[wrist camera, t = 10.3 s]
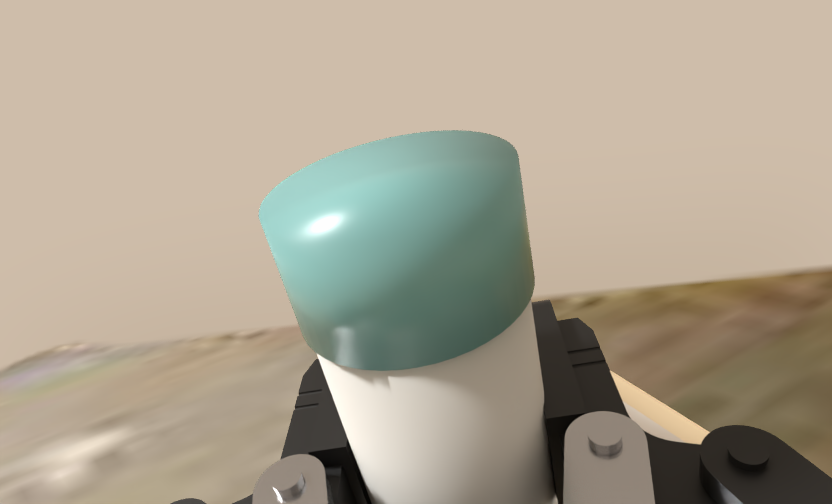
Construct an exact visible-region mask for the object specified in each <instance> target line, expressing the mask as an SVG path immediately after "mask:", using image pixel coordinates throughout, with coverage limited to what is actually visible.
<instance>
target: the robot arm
mask: <svg viewBox="0 0 832 504" xmlns="http://www.w3.org/2000/svg"><path fill="white" fill-rule="evenodd" d="M532 310H533V317H534V324H535V331H536V339H537V346H538V353H539V360H540V367H541V374H542V381H543V388H544V406H543V408H544V415H545V422H546V429H547V436H548V443H549V450H550V457H551V464H552V471H553V478H554V485H555V492H556V497H557V501H558V504H832V478H831V477H829V476H828V475H827V474H825V473H824V472H823V471H821V470H820V469H819V468H818V467H816V466H815V465H814V464H812V463H811V462H810V461H808V460H807V459H806V458H804V457H803V456H802V455H800V454H799V453H798V452H796V451H795V450H794V449H792V448H791V447H790V446H788V445H787V444H786V443H784V442H783V441H782V440H780V439H779V438H777V437H776V436H774V435H772V434H770V433H768V432H766V431H764V430H761V429H758V428H754V427H750V426H743V425H732V426H725V427H720V428H718V429H715V430H713V431H712V432H710V433H709V434H708V435H706V436H705V438H704V439H703V441H702V443H701V444H693V443H684V442H676V441H670V440H665V439H662V438H658V437H656V436H653V435H651V434H649V433H647V432H646V431H644V430H643V429H642V428H641V427H640V426H639V425H638V424H637V423H636V422H635V421H633V420H632V419H631V418H630V416H629V415H628V413H627V411H626V408H625V406H624V403H623V401H622V399H621V396H620V394H619V391H618V389H617V387H616V384H615V382H614V379H613V377H612V375H611V372H610V370H609V367H608V365H607V363H606V361H605V358H604V355H603V353H602V351H601V350H600V346H599V343H598V341H597V339H596V336H595V334H594V331H593V330H592V329H591V328H590V327H588V326H587V325H586V324H585V323H583V322H582V321H581V320H580V319H579V318H573V319H566V320H560V321H557V319H556V316H555V313H554V310H553V307H552V304H551V302H550V300H544V301H538V302H532ZM171 504H206V503H205V502H203V501H201V500H199V499H194V498H189V499H182V500H179V501H175V502H173V503H171ZM233 504H372V503H371V500H370V498H369V495H368V492H367V490H366V487H365V484H364V481H363V479H362V476H361V473H360V470H359V468H358V465H357V462H356V460H355V457H354V454H353V451H352V449H351V446H350V443H349V440H348V438H347V435H346V432H345V430H344V427H343V424H342V421H341V419H340V416H339V413H338V410H337V408H336V405H335V402H334V400H333V397H332V394H331V391H330V389H329V386H328V383H327V380H326V378H325V375H324V372H323V370H322V367H321V364H320V361H319V359H316V360H315V361H314V362H313V364H312V365H311V366H310V368H309V369H308V370H307V372H306V373H305V374H304V375H303V378H302V382H301V386H300V389H299V396H298V397H297V400H296V404H295V410H294V411H293V415H292V419H291V423H290V426H289V430H288V434H287V437H286V441H285V445H284V448H283V452H282V456H281V459H280V460H279V461H277V462H275V463H274V464H272V465H271V466H270V467H269V468H267V469H266V470H265V471H264V472H263V474H262V475H261V476H260V477H259V479H258V481H257V482H256V484H255V487H254V490H253V494H252V495H250V496H248V497H246V498H244V499H242V500H240V501H237V502H235V503H233Z"/></svg>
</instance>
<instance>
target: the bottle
mask: <svg viewBox="0 0 832 504" xmlns="http://www.w3.org/2000/svg"><path fill="white" fill-rule="evenodd" d="M259 219H260V222H261V225H262V227H263V230H264V233H265V236H266V238H267V241H268V244H269V246H270V249H271V252H272V254H273V257H274V259H275V262H276V265H277V268H278V270H279V273H280V276H281V278H282V281H283V283H284V286H285V289H286V292H287V294H288V297H289V299H290V302H291V305H292V308H293V310H294V313H295V316H296V318H297V321H298V324H299V326H300V329H301V332H302V334H303V337H304V339H305V341H306V342H307V344H308V345H309V347H311V348H312V349H313V350H314V351H315V352H316V353H317V356H318V359H319V361H320V364H321V367H322V370H323V372H324V375H325V378H326V380H327V383H328V386H329V389H330V391H331V394H332V397H333V400H334V402H335V405H336V408H337V410H338V413H339V416H340V419H341V421H342V424H343V427H344V430H345V432H346V435H347V438H348V440H349V443H350V446H351V449H352V451H353V454H354V457H355V460H356V462H357V465H358V468H359V470H360V473H361V476H362V479H363V481H364V484H365V487H366V490H367V492H368V495H369V498H370V500H371V503H372V504H558V501H557V497H556V492H555V485H554V478H553V471H552V464H551V457H550V450H549V443H548V436H547V429H546V422H545V415H544V408H543V406H544V388H543V381H542V374H541V367H540V360H539V353H538V346H537V339H536V331H535V324H534V317H533V310H532V303H531V297H532V294H533V290H534V285H535V284H534V283H535V282H534V279H535V278H534V270H533V262H532V256H531V247H530V240H529V232H528V225H527V218H526V210H525V203H524V195H523V188H522V181H521V173H520V165H519V158H518V154H517V151H516V149H515V148H514V147H513V145H511V144H510V143H509V142H507V141H506V140H504V139H501V138H500V137H497V136H493V135H490V134H486V133H481V132H472V131H458V130H456V131H455V130H453V131H430V132H421V133H413V134H407V135H401V136H396V137H390V138H386V139H382V140H377V141H373V142H370V143H366V144H362V145H359V146H356V147H353V148H350V149H347V150H344V151H341V152H339V153H336V154H333V155H331V156H328V157H326V158H323V159H321V160H319V161H317V162H315V163H312V164H310V165H308V166H307V167H305V168H303V169H301V170H299V171H297V172H296V173H294V174H293V175H291V176H289V177H288V178H286V179H285V180H284V181H282V182H281V183H280V184H279V185H277V186H276V187H275V188H274V189H273V190H272V191H271V192H270V193H269V194H268V195H267V196H266V197H265V199H264V200H263V202H262V204H261V206H260V209H259Z"/></svg>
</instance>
